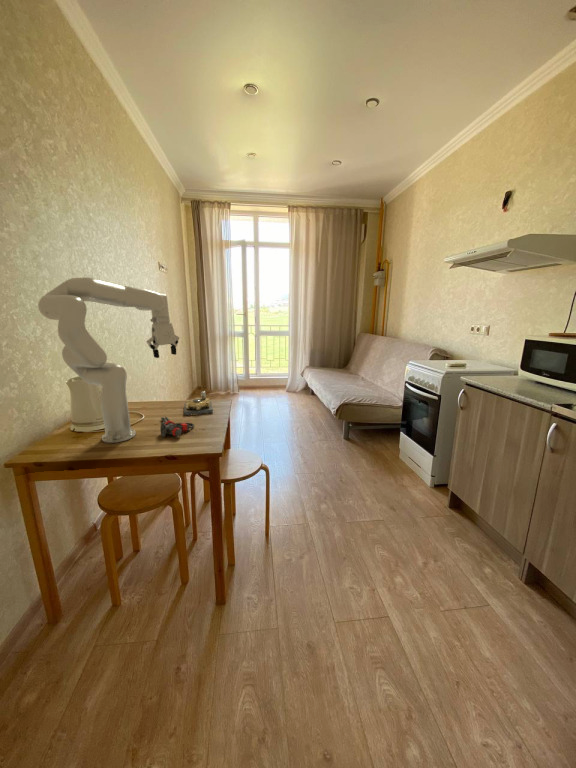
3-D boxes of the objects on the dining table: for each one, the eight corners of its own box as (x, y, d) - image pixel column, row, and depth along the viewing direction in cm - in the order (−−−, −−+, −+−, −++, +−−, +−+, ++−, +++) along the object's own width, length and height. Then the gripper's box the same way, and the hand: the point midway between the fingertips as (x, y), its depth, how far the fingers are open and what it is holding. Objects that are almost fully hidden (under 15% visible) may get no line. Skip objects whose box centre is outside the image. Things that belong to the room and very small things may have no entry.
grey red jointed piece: (200, 438, 133) (164, 441, 124) (183, 422, 154) (151, 424, 145) (201, 424, 132) (165, 426, 123) (184, 410, 153) (152, 411, 144)
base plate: (212, 413, 157) (212, 409, 157) (184, 415, 153) (184, 412, 153) (211, 404, 171) (210, 400, 171) (184, 406, 167) (184, 403, 167)
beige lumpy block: (210, 408, 158) (209, 396, 156) (186, 410, 154) (185, 398, 152) (209, 401, 169) (208, 389, 168) (186, 403, 166) (185, 391, 164)
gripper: (149, 322, 136) (154, 359, 141) (181, 319, 150) (185, 353, 155) (139, 321, 140) (144, 358, 145) (171, 319, 154) (175, 352, 159)
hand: (165, 355), depth 150 cm, fingers open, 9 cm apart
